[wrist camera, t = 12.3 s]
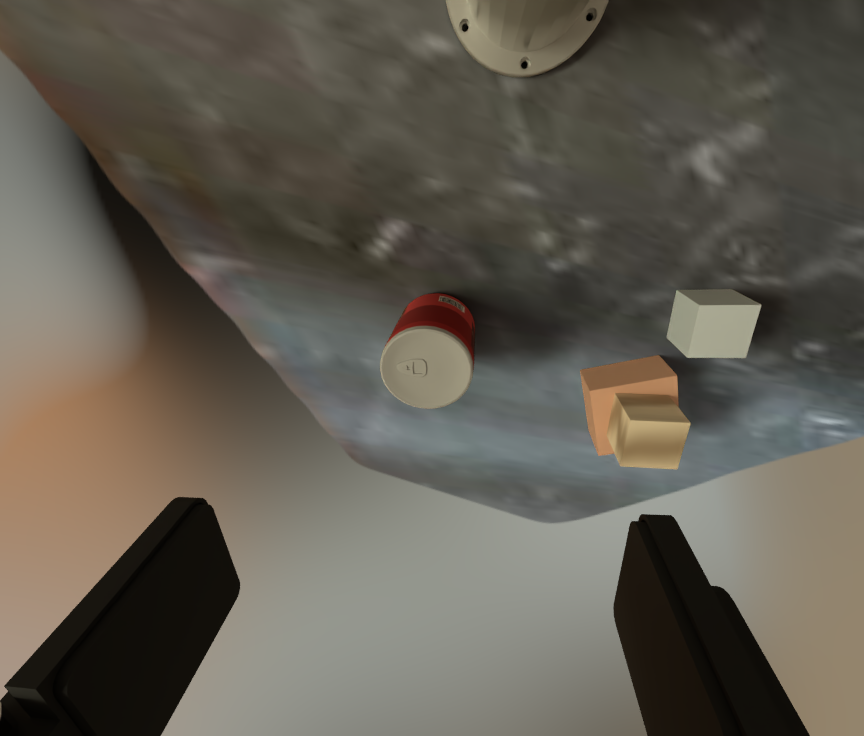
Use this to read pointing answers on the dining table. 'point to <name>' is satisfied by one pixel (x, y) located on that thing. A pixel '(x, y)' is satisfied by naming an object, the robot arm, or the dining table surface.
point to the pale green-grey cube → (712, 323)
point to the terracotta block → (622, 391)
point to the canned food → (430, 352)
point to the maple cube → (647, 430)
